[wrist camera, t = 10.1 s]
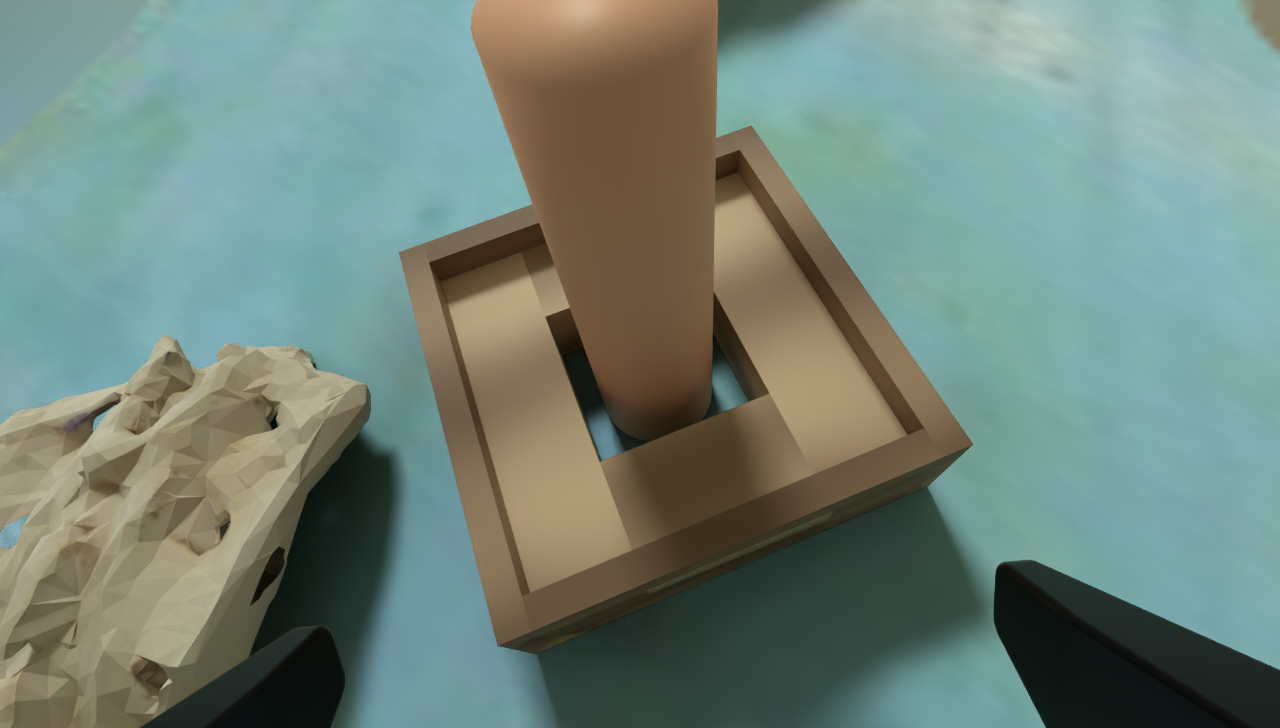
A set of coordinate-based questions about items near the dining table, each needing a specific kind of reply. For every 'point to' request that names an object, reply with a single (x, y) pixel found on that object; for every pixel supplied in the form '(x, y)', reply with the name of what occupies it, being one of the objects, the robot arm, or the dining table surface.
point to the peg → (620, 183)
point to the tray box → (688, 458)
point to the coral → (156, 528)
